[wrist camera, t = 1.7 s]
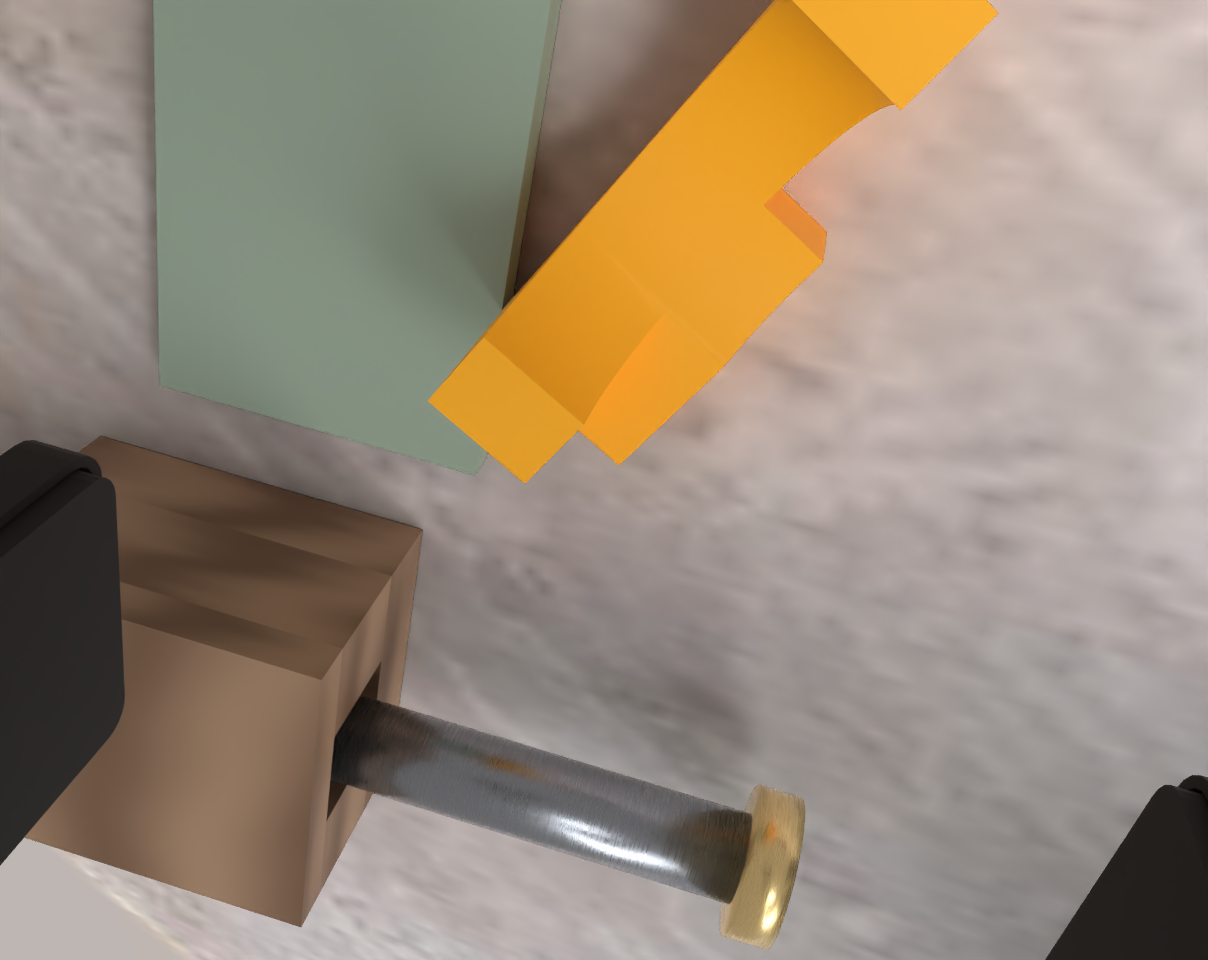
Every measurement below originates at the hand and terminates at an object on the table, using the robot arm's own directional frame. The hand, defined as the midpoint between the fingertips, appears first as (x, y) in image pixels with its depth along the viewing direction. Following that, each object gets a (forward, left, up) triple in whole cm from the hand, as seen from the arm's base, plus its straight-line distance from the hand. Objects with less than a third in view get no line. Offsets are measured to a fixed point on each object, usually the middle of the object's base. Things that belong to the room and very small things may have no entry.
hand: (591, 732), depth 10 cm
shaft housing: (+12, +16, -18) cm, 27 cm away
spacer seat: (+10, +1, -18) cm, 20 cm away
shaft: (+2, +16, -16) cm, 23 cm away
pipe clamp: (0, 0, -18) cm, 18 cm away
